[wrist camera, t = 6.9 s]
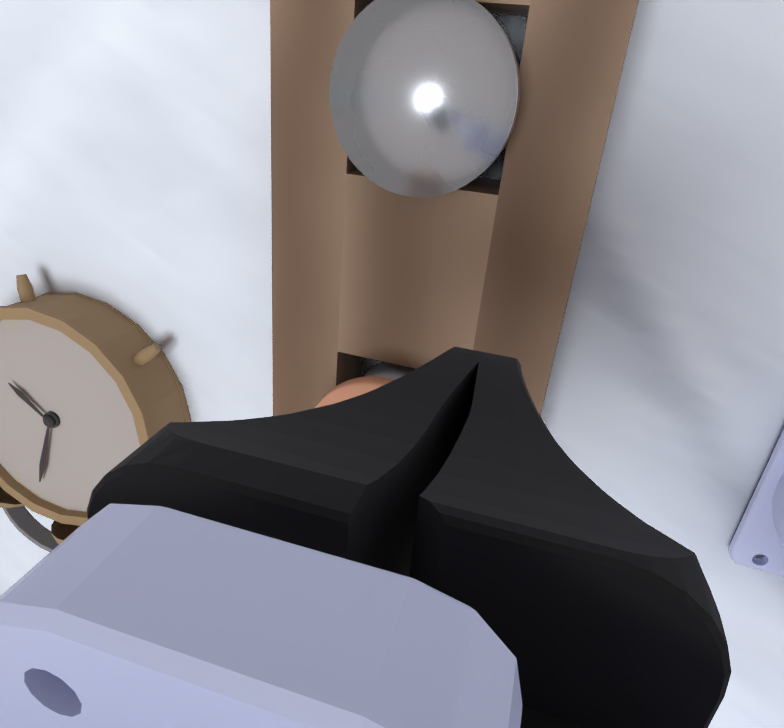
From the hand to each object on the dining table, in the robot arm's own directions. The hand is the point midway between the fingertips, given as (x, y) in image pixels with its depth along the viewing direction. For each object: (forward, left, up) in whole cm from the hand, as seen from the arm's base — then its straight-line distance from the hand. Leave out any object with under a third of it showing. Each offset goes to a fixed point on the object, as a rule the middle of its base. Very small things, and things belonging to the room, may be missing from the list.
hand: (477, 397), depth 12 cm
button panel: (+3, +1, -10) cm, 11 cm away
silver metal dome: (+3, -5, -10) cm, 12 cm away
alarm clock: (+21, +12, -11) cm, 26 cm away
